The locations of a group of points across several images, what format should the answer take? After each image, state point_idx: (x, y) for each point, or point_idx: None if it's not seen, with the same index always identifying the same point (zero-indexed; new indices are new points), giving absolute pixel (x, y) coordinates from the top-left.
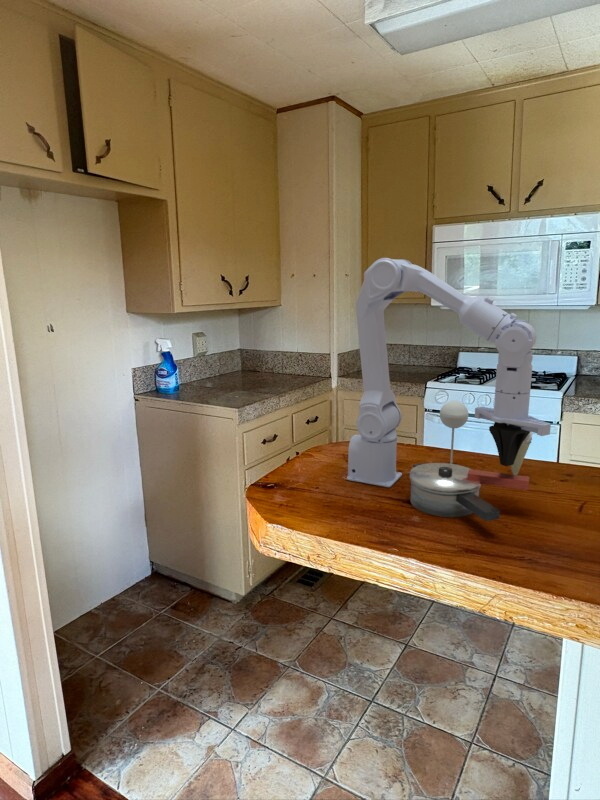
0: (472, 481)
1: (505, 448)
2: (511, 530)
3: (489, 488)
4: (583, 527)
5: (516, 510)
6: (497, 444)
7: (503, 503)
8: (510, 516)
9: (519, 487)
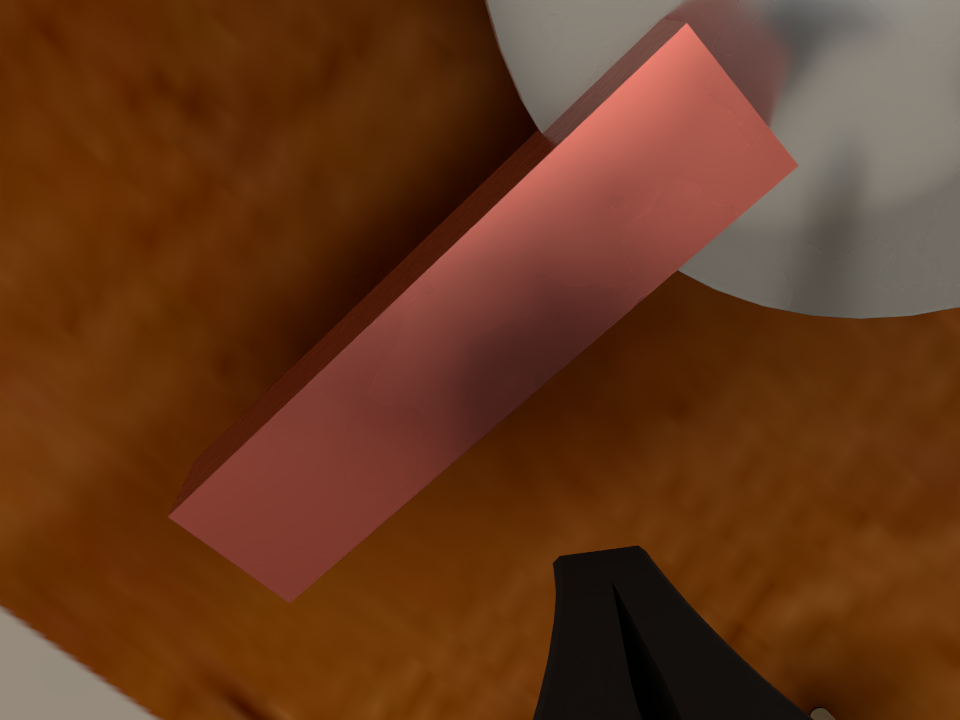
0: (593, 47)
1: (588, 712)
2: (95, 79)
3: (791, 464)
4: (19, 564)
5: None
6: (752, 706)
7: None
8: (320, 259)
9: (249, 416)
